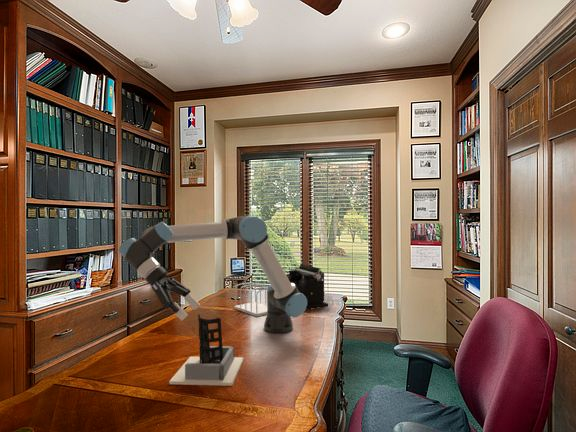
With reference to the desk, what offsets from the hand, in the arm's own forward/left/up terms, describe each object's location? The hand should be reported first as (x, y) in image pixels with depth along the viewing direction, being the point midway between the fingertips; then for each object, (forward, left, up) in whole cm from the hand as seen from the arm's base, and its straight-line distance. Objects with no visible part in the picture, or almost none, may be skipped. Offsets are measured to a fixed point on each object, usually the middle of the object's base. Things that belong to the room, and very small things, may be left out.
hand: (191, 312), depth 119 cm
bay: (-7, 0, -22) cm, 23 cm away
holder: (-7, 0, -21) cm, 22 cm away
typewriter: (-38, -98, -22) cm, 107 cm away
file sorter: (-12, -82, -22) cm, 85 cm away
